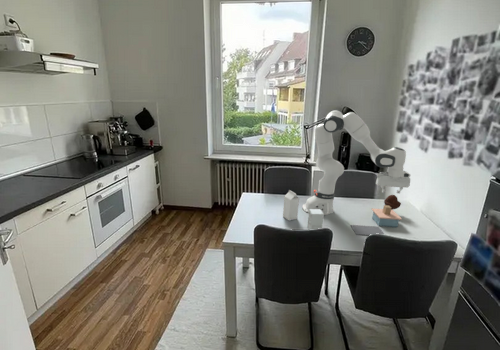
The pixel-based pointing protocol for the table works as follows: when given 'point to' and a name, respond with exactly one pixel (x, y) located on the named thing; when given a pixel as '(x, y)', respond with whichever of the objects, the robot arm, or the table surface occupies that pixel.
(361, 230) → the mat
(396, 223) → the dish
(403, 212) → the table surface
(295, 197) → the milk carton
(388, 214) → the lid
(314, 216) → the supplement box
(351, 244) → the table surface
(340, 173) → the robot arm
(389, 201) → the brown toy tree
